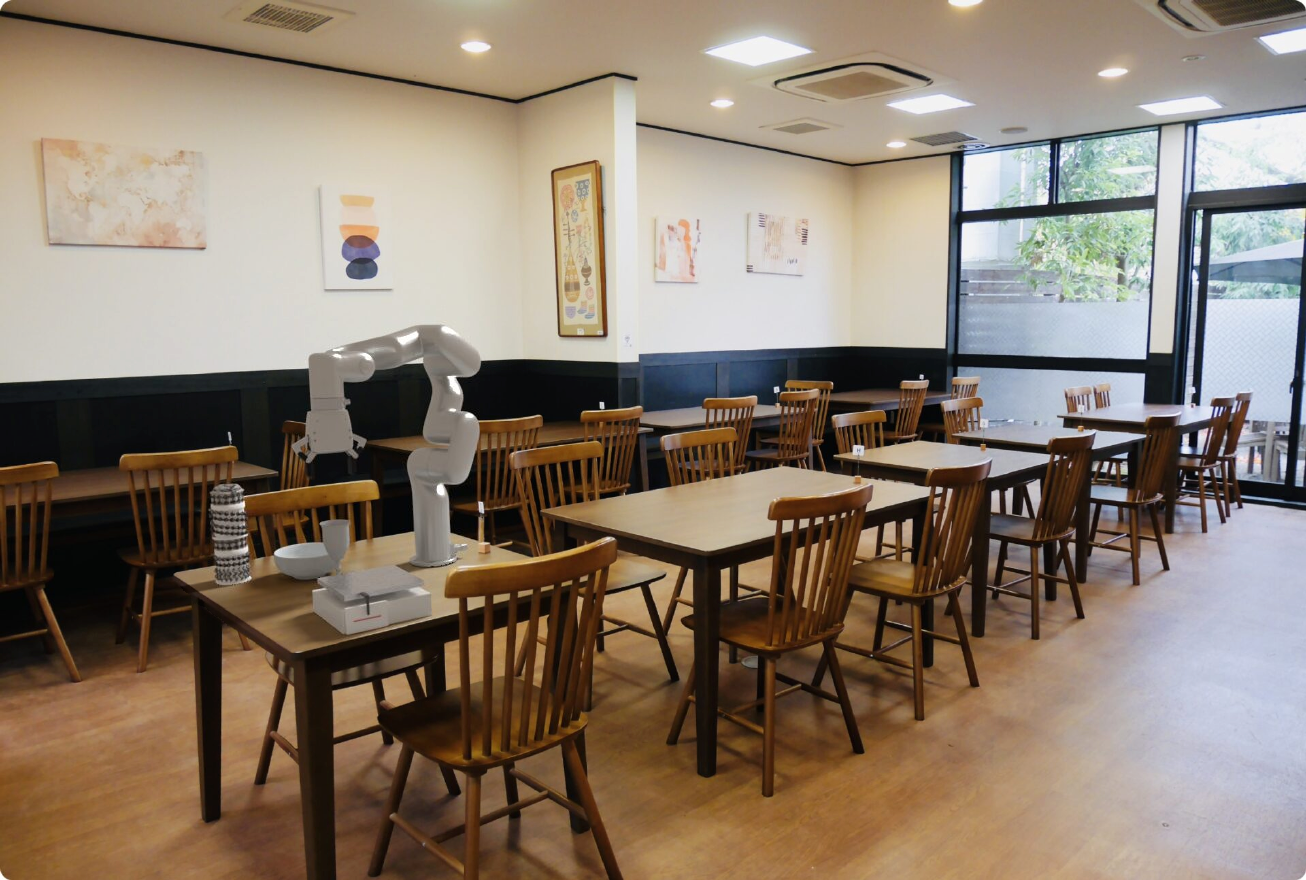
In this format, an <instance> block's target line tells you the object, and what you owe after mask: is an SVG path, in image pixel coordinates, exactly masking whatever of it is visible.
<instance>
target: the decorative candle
mask: <svg viewBox="0 0 1306 880" xmlns="http://www.w3.org/2000/svg"><path fill="white" fill-rule="evenodd" d="M244 491H245V489H244V488H242V487H241V485H239V484H238V483H223V484H218V485H215V486H214V487H213V488H212V491H210V492H209V494H210V501H211V503H210V507H209V508H207V511H208V512H209V513H208V517H209V518H210V519H211V520H210V522H209V525H210V526H211V527H210V528H209V530H210V531H211V532H212V535H211V537H212V538H211V539H212V540H213V541H214V550H213V551H214V555H213V558H212V559H213V560H214V562H213V565H214V566H216V567H215V568H214V570H213V572H214V573H215V574H214V579H216V580H215V584H216V583H217V584H216V585H218V584H219V586H233V585H234V584H236V585H239V584H238V583H241V584H244V582H245V583H248V582H249V581H251V580H252V576H251V574H252V571H251V568H252V565H250V561H251V558H250V555H251V553H250V551H249V545H248V544H247V542H248V541H247V537H248V535H249V533H250V532H249V531H248V530H246V529H248V528H249V525H248V524H246V522H247V521H249V519H250V518H249V517H248V516H247V515H248V514H249V511H247V510H245V507H246V503H245V502H246V501H245V500H244ZM247 581H248V582H247ZM232 584H233V585H232Z"/></svg>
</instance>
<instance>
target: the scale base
mask: <svg viewBox="0 0 1306 880" xmlns="http://www.w3.org/2000/svg"><path fill="white" fill-rule="evenodd" d="M311 592H312V593H311V594H312V608H313V612H314V613H315V614H316V615H318V616H319V617H322V620H324V621H325V620H326V621H325V622H327V623H328V624H329V625H330V626H332V627H333V628H335V629H336V630H337V631H338V632H339V633H341V634H342V635H352V634H356V633H361V632H367V631H372V630H376V629H380V628H385V627H389V625H392V624H397V623H401V622H407V621H411V620H415V619H420V618H424V617H429V616H432V615H433V612H432V610H433V609H432V593H431V592H429V591H427V590H425V589H424V588H423V587H416V588H411V589H406V590H401V591H396V592H391V593H386V594H380V595H375V596H370V597H369V609H370V615H367V606H366V598H360V599H355V600H350V601H343V600H342V599H340V598H339V597H337V596H336V595H334V594H333V593H331V592H330V591H328V590H327V589H325V588H324V587H322V588H318V589H313V590H312V591H311Z"/></svg>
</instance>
